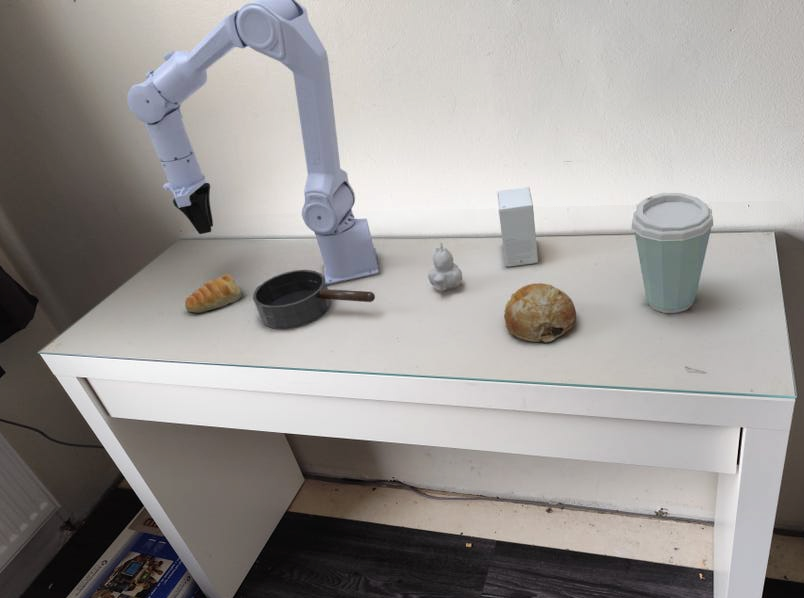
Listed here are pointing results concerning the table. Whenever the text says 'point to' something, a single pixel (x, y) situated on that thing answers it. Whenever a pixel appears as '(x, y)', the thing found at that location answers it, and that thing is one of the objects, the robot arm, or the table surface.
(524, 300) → the bread roll
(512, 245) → the small box
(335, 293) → the pan handle
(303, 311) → the pan
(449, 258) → the grey figurine
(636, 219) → the disposable coffee cup
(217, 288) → the pastry
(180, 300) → the table surface
